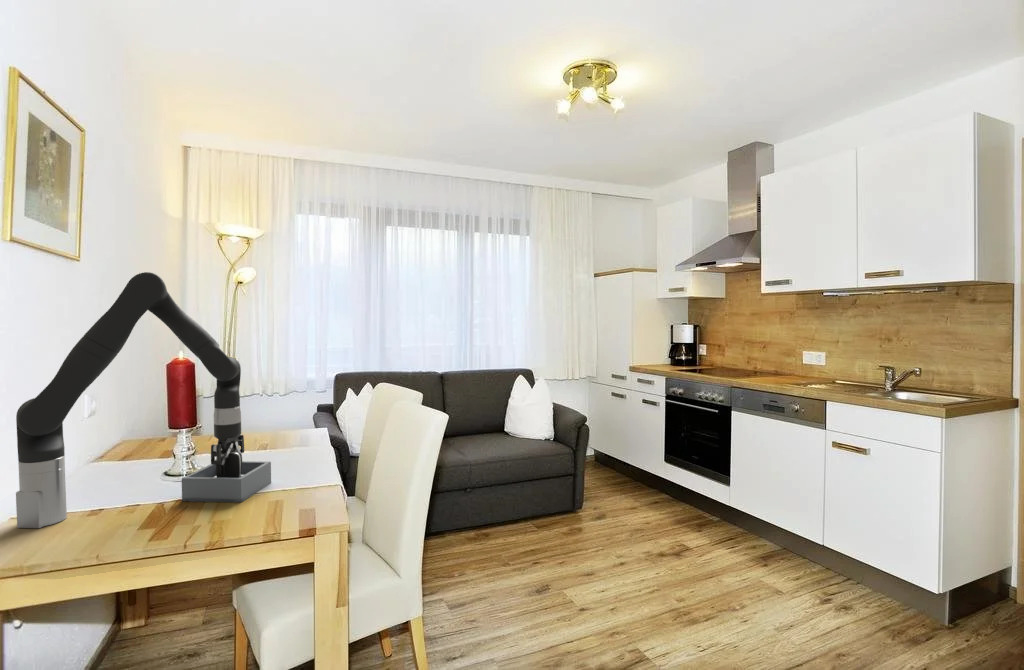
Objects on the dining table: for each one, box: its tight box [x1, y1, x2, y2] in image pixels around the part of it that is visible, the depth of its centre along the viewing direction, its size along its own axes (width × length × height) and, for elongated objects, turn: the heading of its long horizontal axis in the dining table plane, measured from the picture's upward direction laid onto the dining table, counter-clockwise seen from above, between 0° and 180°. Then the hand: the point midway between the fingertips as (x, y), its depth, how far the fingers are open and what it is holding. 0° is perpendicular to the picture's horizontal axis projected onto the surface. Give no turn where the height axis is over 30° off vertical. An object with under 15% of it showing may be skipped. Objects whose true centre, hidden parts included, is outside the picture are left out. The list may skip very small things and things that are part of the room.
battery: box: [217, 451, 243, 478], centre depth 165 cm, size 7×4×11 cm, turn 98°
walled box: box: [181, 460, 272, 503], centre depth 164 cm, size 18×18×7 cm
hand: (228, 472), depth 164 cm, fingers open, 8 cm apart
